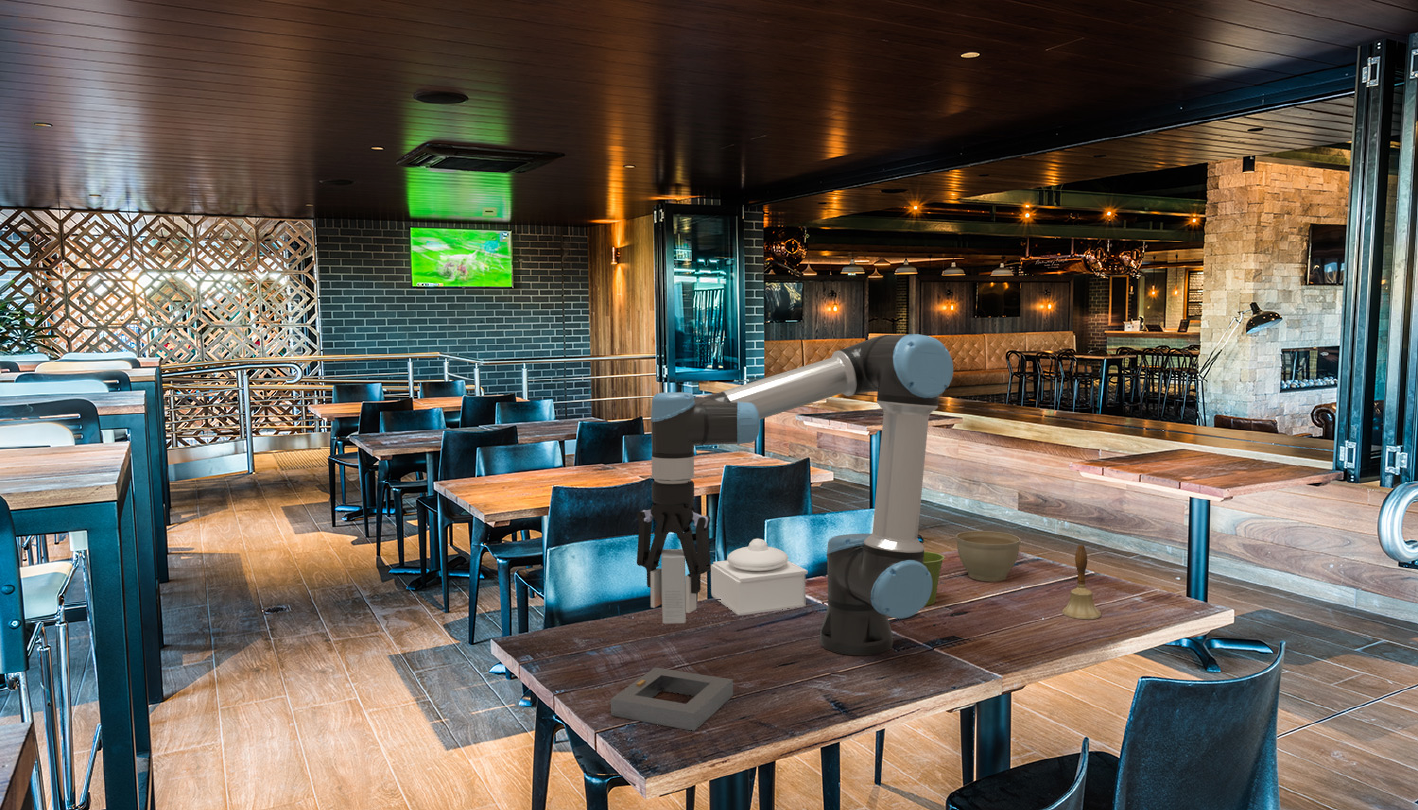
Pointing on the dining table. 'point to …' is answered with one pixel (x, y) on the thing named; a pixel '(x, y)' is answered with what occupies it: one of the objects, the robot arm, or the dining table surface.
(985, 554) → the planter bowl
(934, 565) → the plant pot
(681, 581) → the skincare box
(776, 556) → the butter dish
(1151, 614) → the dining table surface
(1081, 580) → the hand bell
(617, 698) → the collar
